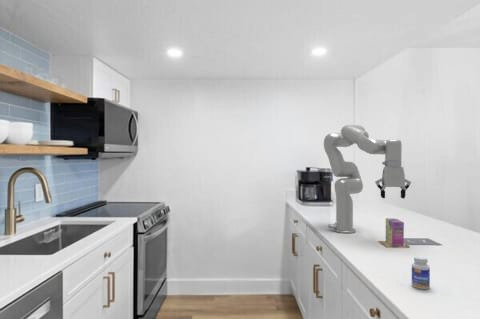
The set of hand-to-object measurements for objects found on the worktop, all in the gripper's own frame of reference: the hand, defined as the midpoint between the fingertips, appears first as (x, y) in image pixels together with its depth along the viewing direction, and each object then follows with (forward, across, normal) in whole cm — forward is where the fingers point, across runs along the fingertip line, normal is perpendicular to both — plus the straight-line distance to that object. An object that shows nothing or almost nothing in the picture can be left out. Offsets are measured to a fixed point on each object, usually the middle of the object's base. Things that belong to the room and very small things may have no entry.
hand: (392, 198), depth 172 cm
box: (+23, 0, -1) cm, 23 cm away
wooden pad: (+23, 0, -1) cm, 23 cm away
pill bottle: (+23, -14, -58) cm, 64 cm away
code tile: (+23, +15, +6) cm, 28 cm away
